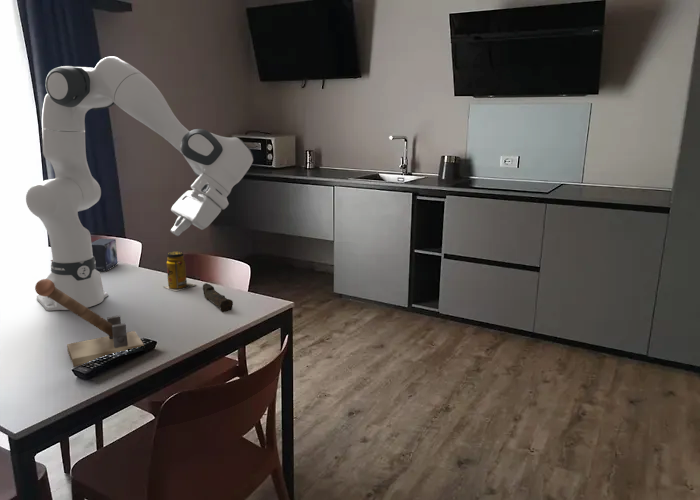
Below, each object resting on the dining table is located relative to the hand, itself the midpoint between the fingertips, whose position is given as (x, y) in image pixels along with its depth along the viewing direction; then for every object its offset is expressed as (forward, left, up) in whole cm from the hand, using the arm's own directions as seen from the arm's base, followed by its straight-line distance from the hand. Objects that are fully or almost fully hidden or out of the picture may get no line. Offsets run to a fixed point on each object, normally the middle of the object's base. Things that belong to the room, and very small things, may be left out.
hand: (173, 233), depth 142 cm
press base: (-5, -18, -28) cm, 34 cm away
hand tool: (-14, +21, -28) cm, 38 cm away
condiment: (-36, +24, -28) cm, 52 cm away
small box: (-78, +20, -28) cm, 85 cm away
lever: (-4, -15, -25) cm, 29 cm away
